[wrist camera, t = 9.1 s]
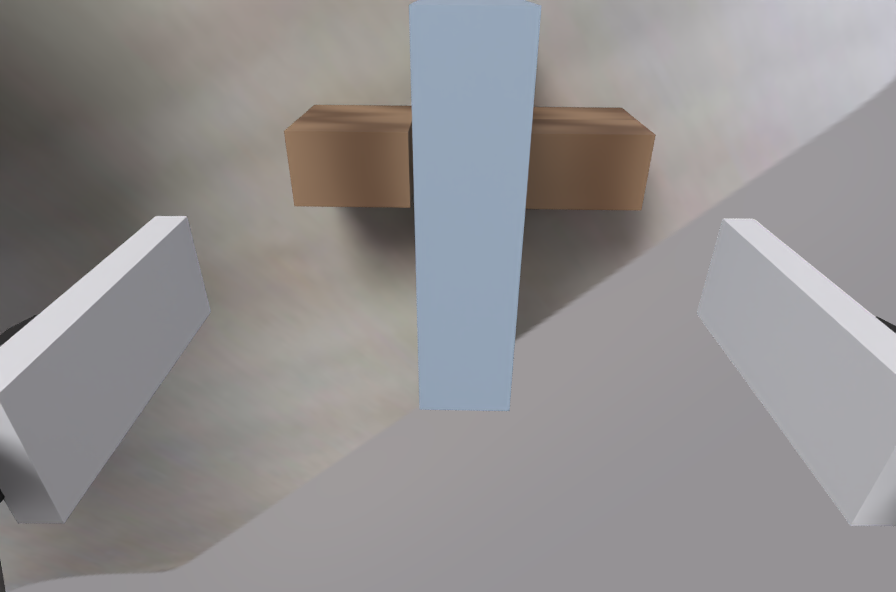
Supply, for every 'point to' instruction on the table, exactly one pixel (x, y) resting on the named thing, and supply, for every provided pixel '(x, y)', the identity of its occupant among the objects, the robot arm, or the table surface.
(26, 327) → the robot arm
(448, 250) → the pale blue upright slab
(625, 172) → the walnut u-shaped block
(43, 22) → the table surface
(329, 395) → the table surface
